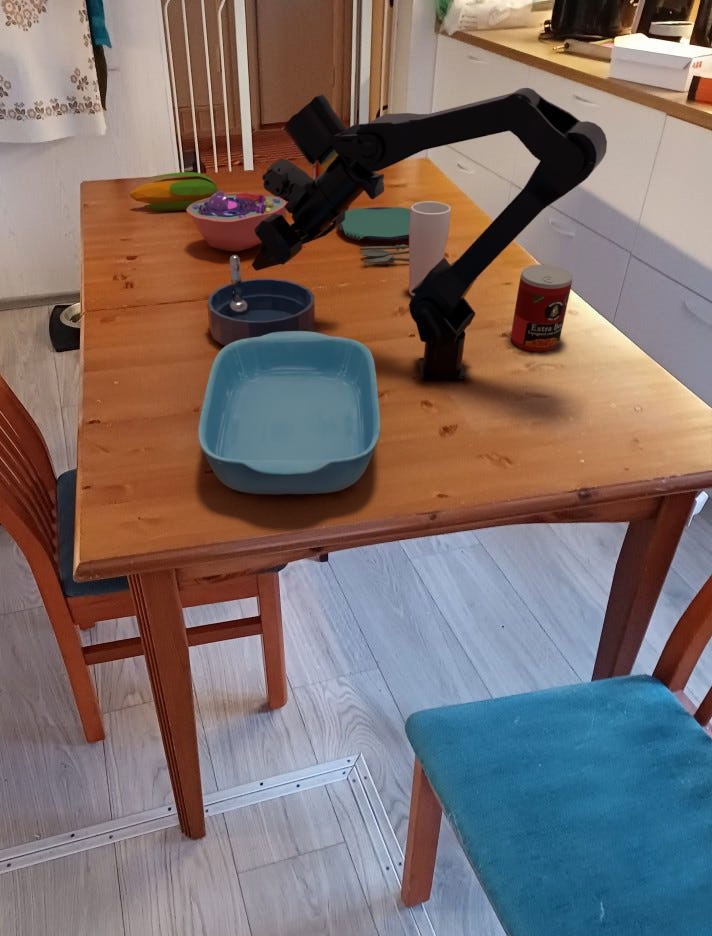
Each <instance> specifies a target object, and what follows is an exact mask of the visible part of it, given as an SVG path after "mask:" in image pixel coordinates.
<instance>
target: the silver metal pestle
mask: <svg viewBox="0 0 712 936" xmlns="http://www.w3.org/2000/svg"><path fill="white" fill-rule="evenodd" d="M229 269H230V284H231V283H232V296H233V300H232V301H231V302H230V303H229V304H228V307H227V314H228V316H229V317H231V318H234V319H240V320H246V319H247V318H248V317H249V314H250V307H249V305H248V303H247V302H246V301H245V300H243V298H242V284H241V281H242V269H241V259H240V257H239V256H238V255H237V254H233V255H231V256H230V258H229Z"/></svg>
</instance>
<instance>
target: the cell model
mask: <svg viewBox="0 0 712 936" xmlns="http://www.w3.org/2000/svg"><path fill="white" fill-rule="evenodd" d="M286 204H287V201H285V200H283V199H282V198H280V197H279V196H278V197H276V196H274V195H268V194H267V195H266V194H262V193H256V192H234V191H233V192H224V191H223V190H218V192H216V193H214V194H213V195H212V196H211V197H210V198H207V199H203V200H200V201H197V202H195V203H193V204H191V205H190V206H189V207H188V208H187V210H186V212H187V214H188V215H189V217H190V218H191V219H192V221H193V223H194V225H195V226H196V228H197V229H198V232H199V233H200V234H201V236H202V237H203V238H204V240H205V241H206V243H207V244H208V246H210V247H212V248H215V249H217V250H221V251H226V252H231V253H236V252H237V253H238V252H241V251H245V250H249V249H252V248H254V247H256V246H258V245H261V240H260V239H259V238H258V236H257V235H256V234H255V228H256V227H257V226H258V225H259V223H260V222H261V221H262V220H264V219H266V218H267V217H269V216H271V215H272V214H280V215H282V216H283V217H284V218H285V219H286V217H287V210H286V209H285V207H284V206H285V205H286ZM286 220H287V219H286Z"/></svg>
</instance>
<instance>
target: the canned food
mask: <svg viewBox="0 0 712 936" xmlns="http://www.w3.org/2000/svg"><path fill="white" fill-rule="evenodd" d="M573 277H574V276H573V274H572V273H571V272H570V271H569V270H567V269H566V268H563V267H561V266H556V265H552V264H551V265H550V264H534V265H529V266H526V267H525V268H523V269H522V271H521V274H520V278H519V283H518V289H517V294H516V300H515V301H516V302H515V308H514V313H513V314H514V315H513V319H512V325H511V332H510V337H511V341H512V343H513V345H515V346H516V347H518V348H520V349H522V350H526V351H530V352H535V353H536V352H537V353H538V352H539V353H541V352H548V351H551V350H553V349H555V348H556V347H557V346H558V344H559V342H560V339H561V336H562V330H563V325H564V321H565V318H566V317H565V316H566V313H567V307H568V305H569V304H568V303H569V300H570V294H571V289H572V284H573Z"/></svg>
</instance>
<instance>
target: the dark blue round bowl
mask: <svg viewBox="0 0 712 936" xmlns="http://www.w3.org/2000/svg"><path fill="white" fill-rule="evenodd" d="M241 284H242V298H243V300H245V301H246V302H247V303H248V305H249V307H250V314H249V317H248V318H247V319H246V320H240V319H234V318H231V317H229V316H228V314H227V307H228V304H229V303H230V302H231V301H232V300H233V296H232V283H231V282H230V283H227V284H225V285H223V286H221V287H219V288H217V289H214V291H213V292H212V293H211V294H210V295H209V296H208V298H207V302H206V306H207V316H208V324H209V325H208V326H209V333H210V334H211V338H212V339H213V340H214V341H216V342H217V343H219V344H220V345H222V346H224V347H225V346H227V345H228V344H230V343H232V342H235V341H238V340H241V339H246V338H253V337H261V336H263V335H266V334H269V333H274V332H284V331H309V332H315V327H316V326H315V325H316V323H315V322H316V321H315V320H316V319H315V317H316V316H315V315H316V313H315V310H316V309H315V305H316V303H315V295H314V293H313V292H312V291H311V290H310V288H307V287H306V286H305V285H303V284H300V283H297V282H294V281H291V280H286V279H278V278H253V279H252V278H251V279H244V280H241Z"/></svg>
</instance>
